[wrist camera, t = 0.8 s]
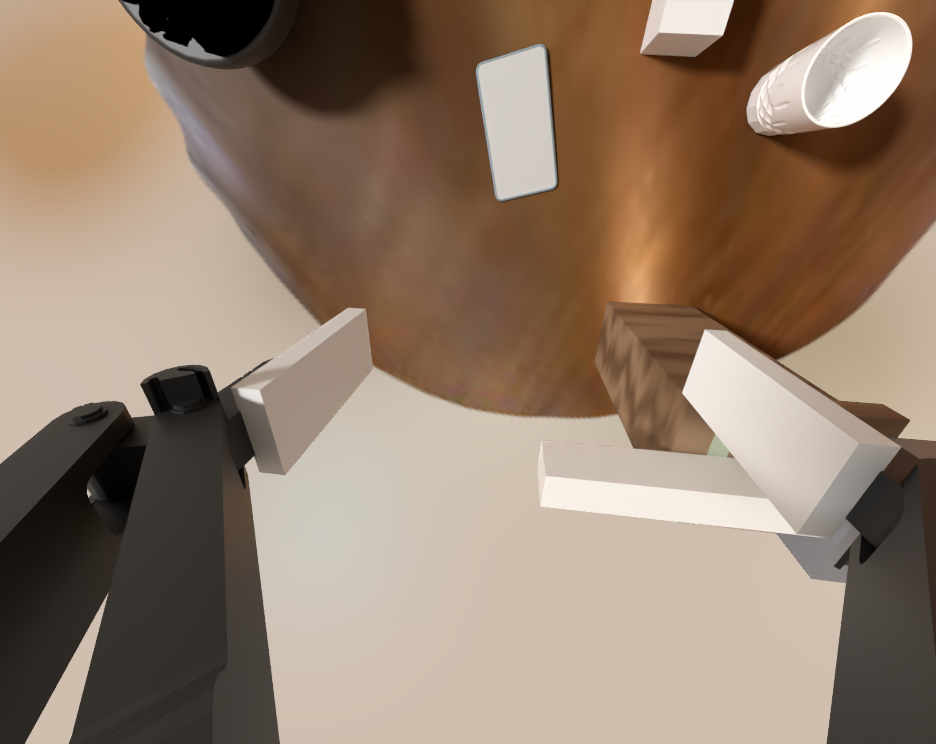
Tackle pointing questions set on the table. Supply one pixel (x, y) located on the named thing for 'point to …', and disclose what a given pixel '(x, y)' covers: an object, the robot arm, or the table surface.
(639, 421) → the tall stand
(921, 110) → the table surface
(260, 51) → the bowl of black rocks
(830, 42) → the white cup
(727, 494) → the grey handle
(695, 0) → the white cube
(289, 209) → the table surface
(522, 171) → the smartphone
